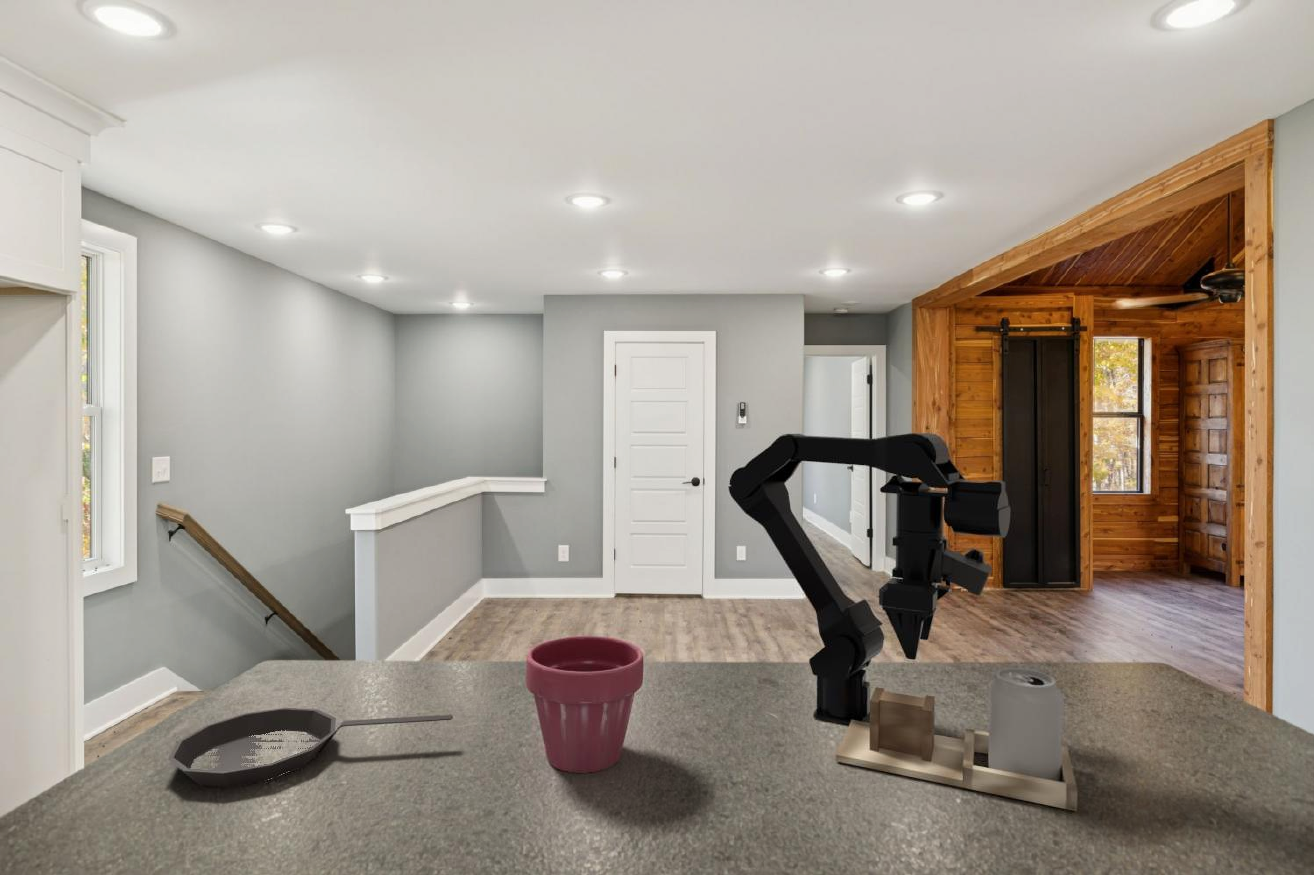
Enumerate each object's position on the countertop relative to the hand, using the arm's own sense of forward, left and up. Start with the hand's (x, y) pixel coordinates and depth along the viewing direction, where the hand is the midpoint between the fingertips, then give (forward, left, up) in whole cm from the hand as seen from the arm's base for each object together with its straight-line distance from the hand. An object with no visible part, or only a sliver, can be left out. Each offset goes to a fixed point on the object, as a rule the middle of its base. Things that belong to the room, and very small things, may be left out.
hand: (917, 648), depth 91 cm
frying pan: (-66, -37, -12) cm, 77 cm away
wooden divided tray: (+4, -6, -12) cm, 14 cm away
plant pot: (-36, -23, -12) cm, 45 cm away
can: (+12, -6, -12) cm, 18 cm away
